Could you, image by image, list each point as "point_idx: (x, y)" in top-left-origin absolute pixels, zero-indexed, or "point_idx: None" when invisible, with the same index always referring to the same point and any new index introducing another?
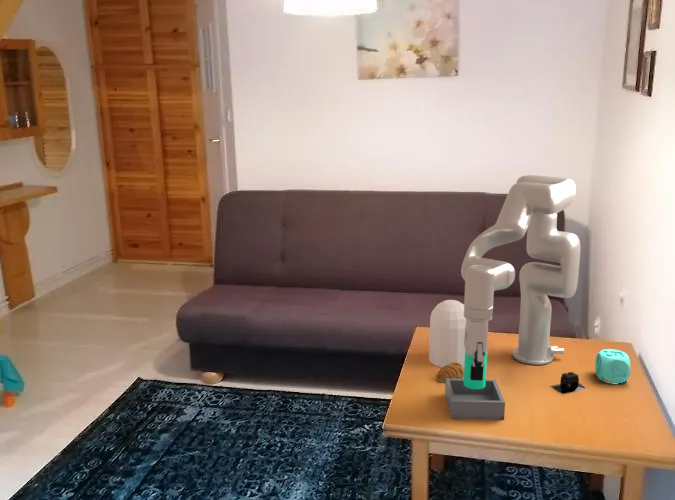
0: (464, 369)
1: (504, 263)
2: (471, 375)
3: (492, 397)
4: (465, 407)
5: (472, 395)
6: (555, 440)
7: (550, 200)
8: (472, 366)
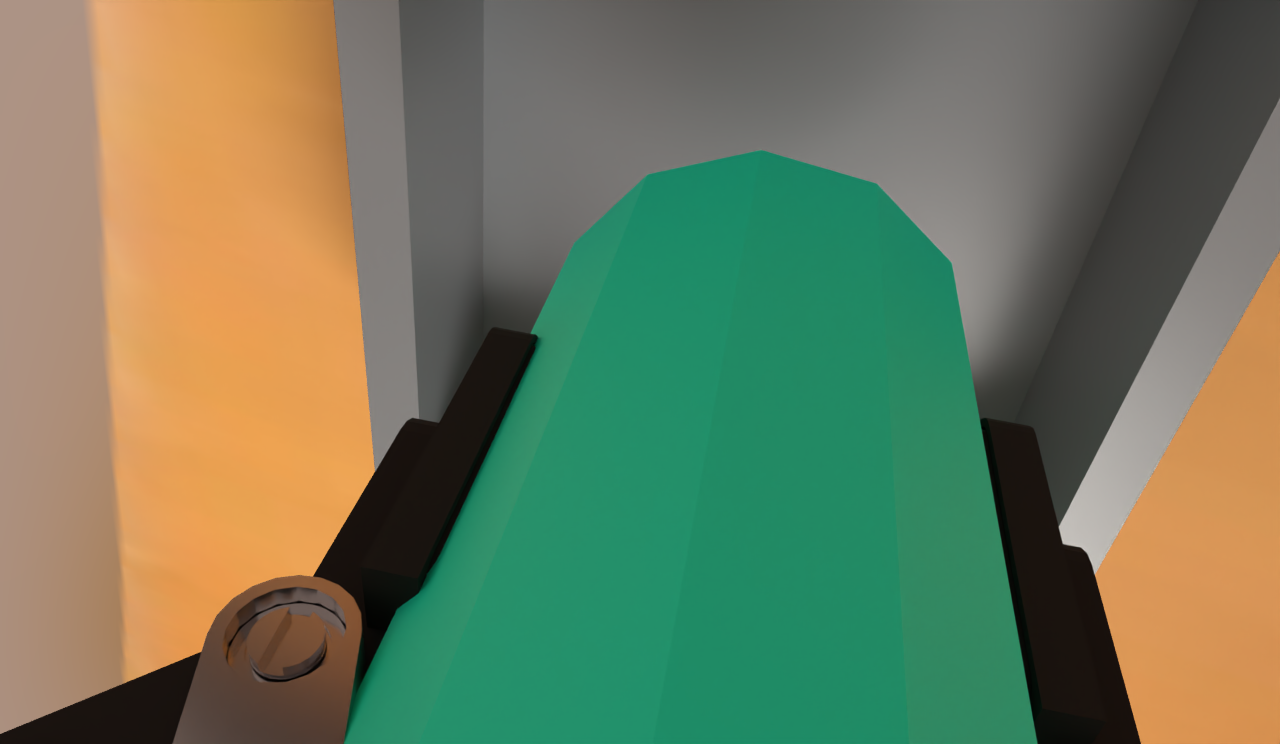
0: (718, 350)
1: None
2: (461, 393)
3: None
4: None
5: (1025, 245)
6: (171, 579)
7: None
8: (305, 586)
